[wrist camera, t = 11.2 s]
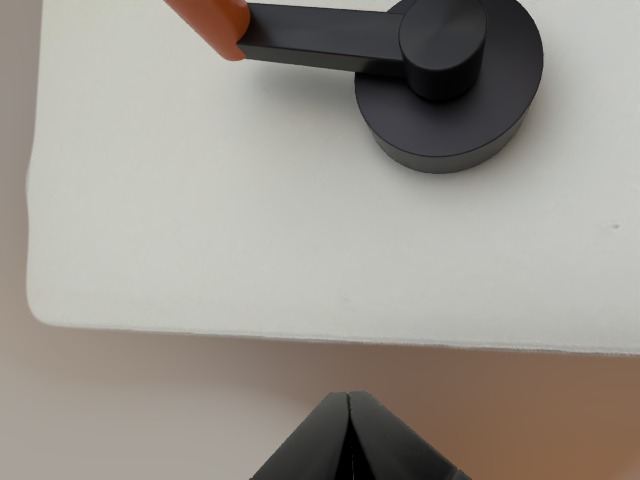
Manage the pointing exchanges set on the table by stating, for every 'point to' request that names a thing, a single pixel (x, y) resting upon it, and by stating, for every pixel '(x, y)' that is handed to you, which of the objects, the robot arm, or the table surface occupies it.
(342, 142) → the table surface
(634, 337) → the table surface
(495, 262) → the table surface
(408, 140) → the base
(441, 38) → the crank handle
